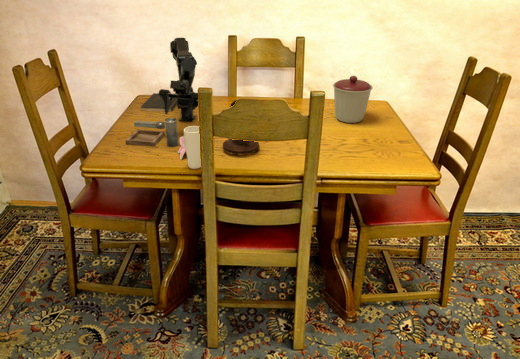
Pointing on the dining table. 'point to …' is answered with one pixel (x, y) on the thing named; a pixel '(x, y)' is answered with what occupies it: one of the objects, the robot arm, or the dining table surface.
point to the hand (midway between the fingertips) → (176, 115)
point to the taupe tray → (145, 138)
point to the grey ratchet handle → (150, 124)
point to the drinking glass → (192, 146)
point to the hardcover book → (157, 103)
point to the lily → (182, 147)
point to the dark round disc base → (240, 145)
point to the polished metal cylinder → (171, 132)
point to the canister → (351, 99)
